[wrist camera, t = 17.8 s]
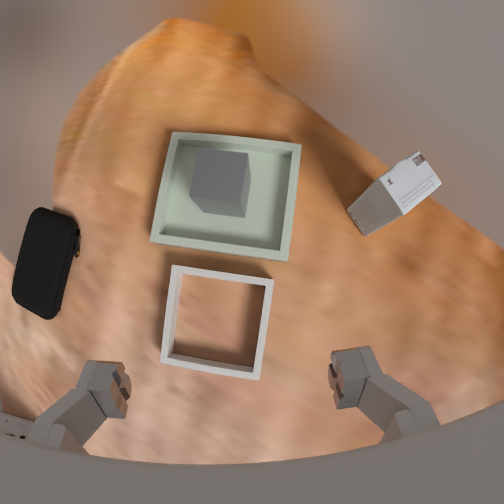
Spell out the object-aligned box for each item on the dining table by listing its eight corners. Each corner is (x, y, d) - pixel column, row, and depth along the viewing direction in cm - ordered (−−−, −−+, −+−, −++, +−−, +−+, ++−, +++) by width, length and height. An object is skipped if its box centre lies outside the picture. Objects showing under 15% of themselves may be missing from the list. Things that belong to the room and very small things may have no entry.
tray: (156, 244, 39) (149, 241, 37) (177, 139, 40) (172, 131, 38) (286, 262, 38) (287, 261, 36) (299, 152, 40) (301, 144, 37)
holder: (166, 357, 38) (160, 362, 35) (177, 265, 39) (172, 264, 36) (259, 374, 37) (259, 380, 35) (273, 279, 38) (274, 279, 36)
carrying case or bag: (66, 326, 39) (93, 224, 40) (54, 328, 36) (82, 220, 37) (17, 299, 40) (40, 206, 41) (4, 299, 37) (29, 202, 38)
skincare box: (364, 238, 38) (404, 220, 26) (343, 208, 39) (375, 178, 27) (399, 211, 39) (445, 186, 26) (379, 183, 39) (418, 147, 27)
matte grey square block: (203, 212, 39) (189, 195, 31) (210, 173, 39) (198, 148, 31) (245, 218, 38) (240, 201, 31) (251, 178, 39) (248, 153, 31)
